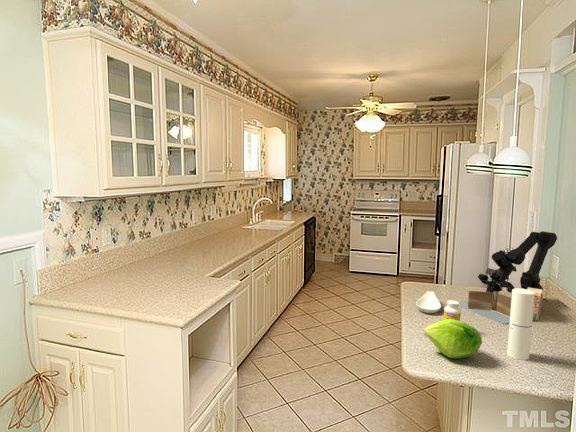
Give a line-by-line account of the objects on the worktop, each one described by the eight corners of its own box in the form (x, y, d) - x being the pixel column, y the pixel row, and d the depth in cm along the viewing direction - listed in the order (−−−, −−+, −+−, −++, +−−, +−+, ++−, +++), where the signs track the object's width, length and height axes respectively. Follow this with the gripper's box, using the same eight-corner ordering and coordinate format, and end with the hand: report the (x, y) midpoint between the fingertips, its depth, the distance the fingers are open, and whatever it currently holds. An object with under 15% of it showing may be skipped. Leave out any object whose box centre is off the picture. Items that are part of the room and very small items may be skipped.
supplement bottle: (443, 332, 167) (444, 303, 165) (442, 326, 173) (444, 298, 171) (460, 334, 164) (461, 305, 163) (459, 328, 170) (460, 300, 169)
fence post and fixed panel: (494, 309, 195) (495, 291, 194) (522, 320, 180) (523, 300, 179) (490, 309, 194) (492, 291, 193) (518, 320, 180) (519, 301, 179)
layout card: (478, 300, 209) (478, 300, 208) (528, 320, 181) (528, 319, 181) (455, 303, 203) (455, 303, 203) (503, 324, 176) (503, 323, 176)
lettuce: (420, 343, 155) (428, 310, 156) (474, 360, 148) (482, 325, 149) (420, 350, 141) (428, 313, 142) (480, 369, 134) (488, 330, 135)
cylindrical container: (520, 361, 141) (526, 295, 138) (502, 353, 148) (507, 289, 145) (533, 357, 144) (539, 293, 141) (515, 349, 150) (520, 287, 148)
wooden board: (467, 306, 196) (468, 290, 195) (490, 308, 194) (492, 292, 193) (468, 307, 195) (469, 291, 194) (491, 309, 193) (493, 293, 192)
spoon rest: (440, 317, 184) (441, 303, 183) (414, 313, 189) (415, 299, 188) (441, 302, 206) (442, 289, 205) (418, 299, 210) (419, 286, 210)
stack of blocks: (527, 306, 201) (529, 283, 199) (541, 308, 197) (544, 285, 196) (522, 317, 184) (524, 292, 182) (538, 320, 180) (540, 295, 179)
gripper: (481, 258, 206) (464, 281, 203) (512, 266, 188) (493, 291, 186) (491, 271, 209) (474, 293, 207) (522, 280, 192) (505, 305, 189)
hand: (486, 295), depth 197 cm, fingers closed
